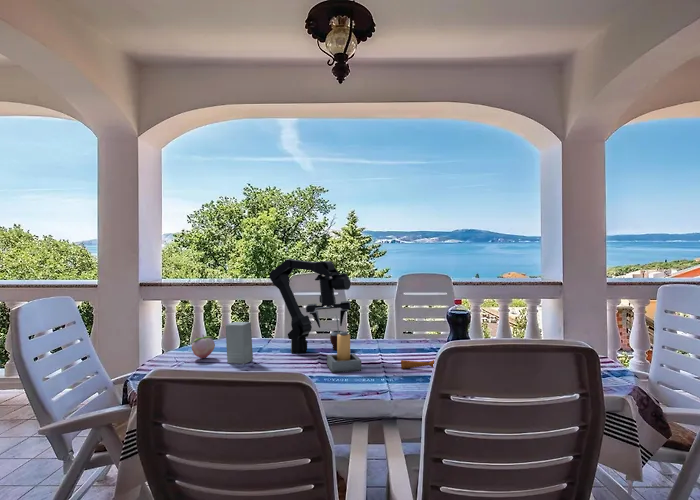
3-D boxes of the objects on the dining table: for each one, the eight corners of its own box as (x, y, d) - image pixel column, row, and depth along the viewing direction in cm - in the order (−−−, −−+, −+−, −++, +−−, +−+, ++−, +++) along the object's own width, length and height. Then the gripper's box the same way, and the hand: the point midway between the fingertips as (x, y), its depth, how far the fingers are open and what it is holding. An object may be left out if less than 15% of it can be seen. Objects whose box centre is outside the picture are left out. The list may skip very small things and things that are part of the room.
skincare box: (253, 360, 169) (253, 321, 169) (243, 365, 162) (243, 324, 162) (235, 359, 172) (235, 320, 172) (224, 363, 165) (224, 323, 165)
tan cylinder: (338, 368, 155) (338, 333, 155) (336, 365, 160) (336, 331, 160) (351, 367, 156) (351, 333, 157) (348, 364, 161) (348, 330, 161)
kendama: (401, 356, 162) (454, 354, 157) (402, 372, 160) (456, 371, 156) (400, 356, 156) (454, 355, 152) (401, 373, 155) (456, 372, 150)
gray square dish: (332, 373, 152) (332, 362, 152) (326, 365, 162) (326, 354, 162) (361, 371, 154) (361, 360, 154) (354, 363, 165) (354, 353, 165)
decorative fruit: (204, 355, 178) (205, 331, 179) (218, 357, 174) (218, 333, 174) (186, 359, 170) (186, 335, 171) (199, 362, 166) (199, 337, 166)
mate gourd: (339, 351, 185) (339, 317, 185) (325, 349, 190) (325, 316, 190) (349, 348, 191) (349, 315, 191) (335, 346, 196) (335, 314, 196)
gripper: (349, 286, 185) (352, 321, 185) (308, 290, 186) (311, 324, 186) (348, 289, 174) (351, 326, 174) (304, 293, 175) (307, 329, 175)
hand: (330, 326), depth 178 cm, fingers open, 9 cm apart
